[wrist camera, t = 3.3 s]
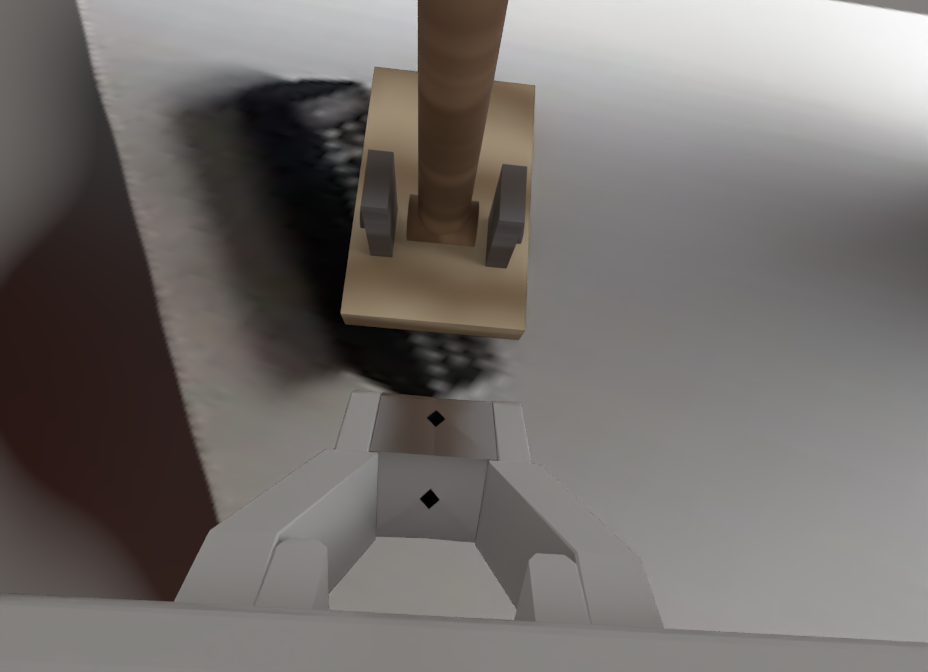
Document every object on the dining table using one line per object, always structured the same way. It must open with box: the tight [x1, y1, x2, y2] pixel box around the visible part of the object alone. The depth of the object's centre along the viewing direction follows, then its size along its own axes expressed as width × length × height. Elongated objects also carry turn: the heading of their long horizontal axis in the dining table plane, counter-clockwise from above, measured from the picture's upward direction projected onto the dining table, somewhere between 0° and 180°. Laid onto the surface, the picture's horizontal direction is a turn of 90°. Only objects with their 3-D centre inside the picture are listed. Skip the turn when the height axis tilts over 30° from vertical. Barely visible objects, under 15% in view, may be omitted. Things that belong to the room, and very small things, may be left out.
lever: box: [406, 0, 508, 247], centre depth 19 cm, size 4×4×24 cm
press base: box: [340, 67, 535, 340], centre depth 30 cm, size 16×10×8 cm, turn 176°
